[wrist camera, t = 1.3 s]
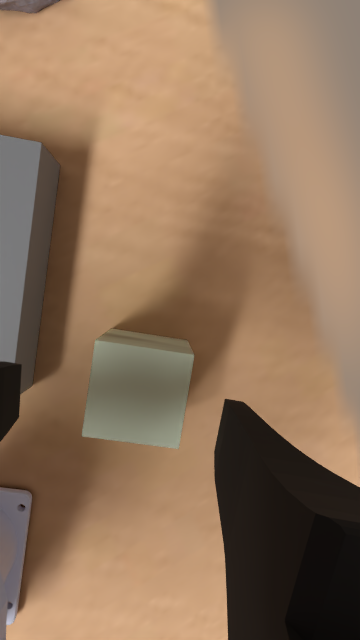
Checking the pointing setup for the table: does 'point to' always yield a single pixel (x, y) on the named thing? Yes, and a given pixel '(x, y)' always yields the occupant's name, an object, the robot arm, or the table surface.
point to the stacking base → (24, 246)
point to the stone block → (26, 5)
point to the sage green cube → (138, 388)
